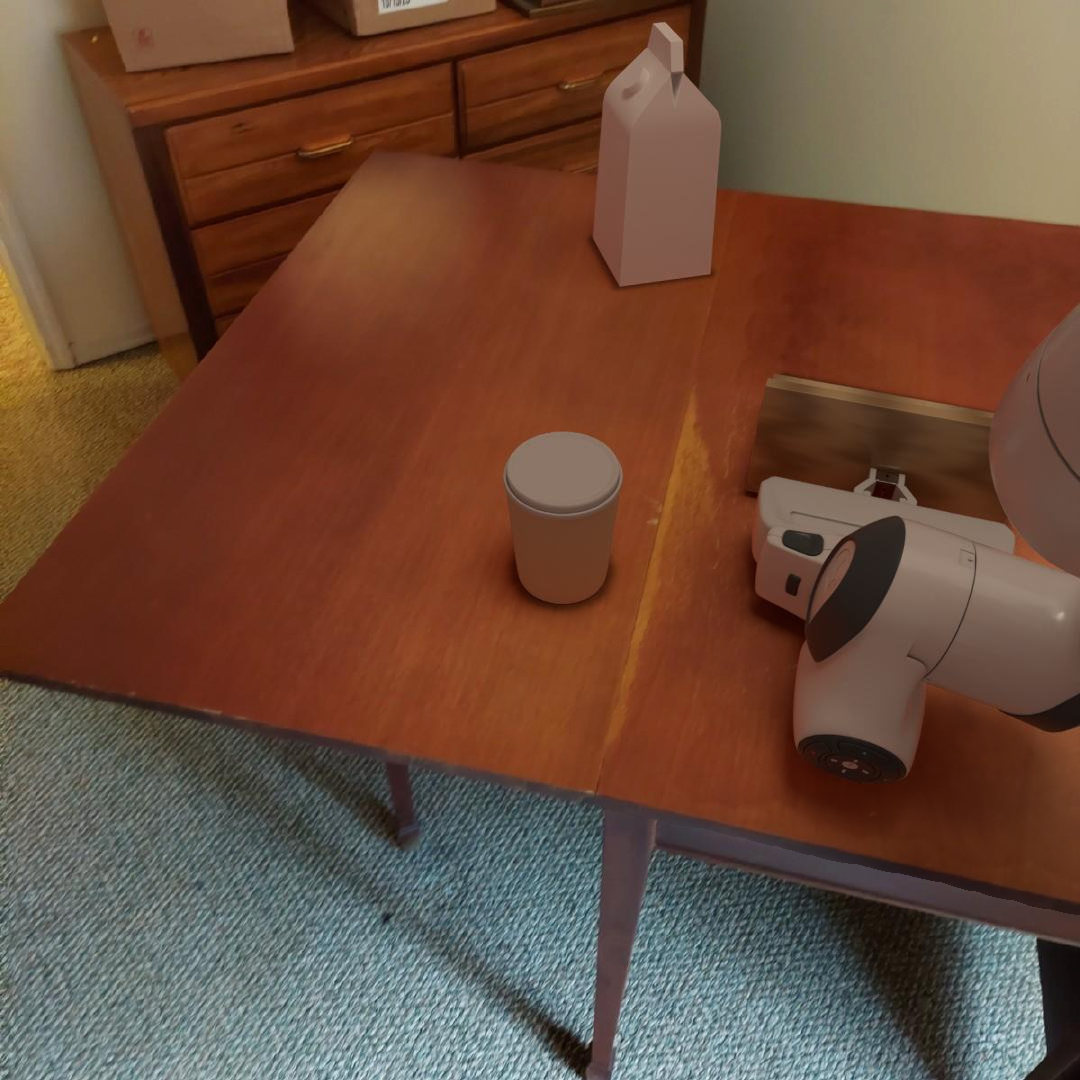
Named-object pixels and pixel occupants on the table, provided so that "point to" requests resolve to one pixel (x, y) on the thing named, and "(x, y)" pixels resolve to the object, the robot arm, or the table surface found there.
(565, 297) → the table surface
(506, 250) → the table surface
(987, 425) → the drawer
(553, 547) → the coffee cup
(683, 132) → the milk
